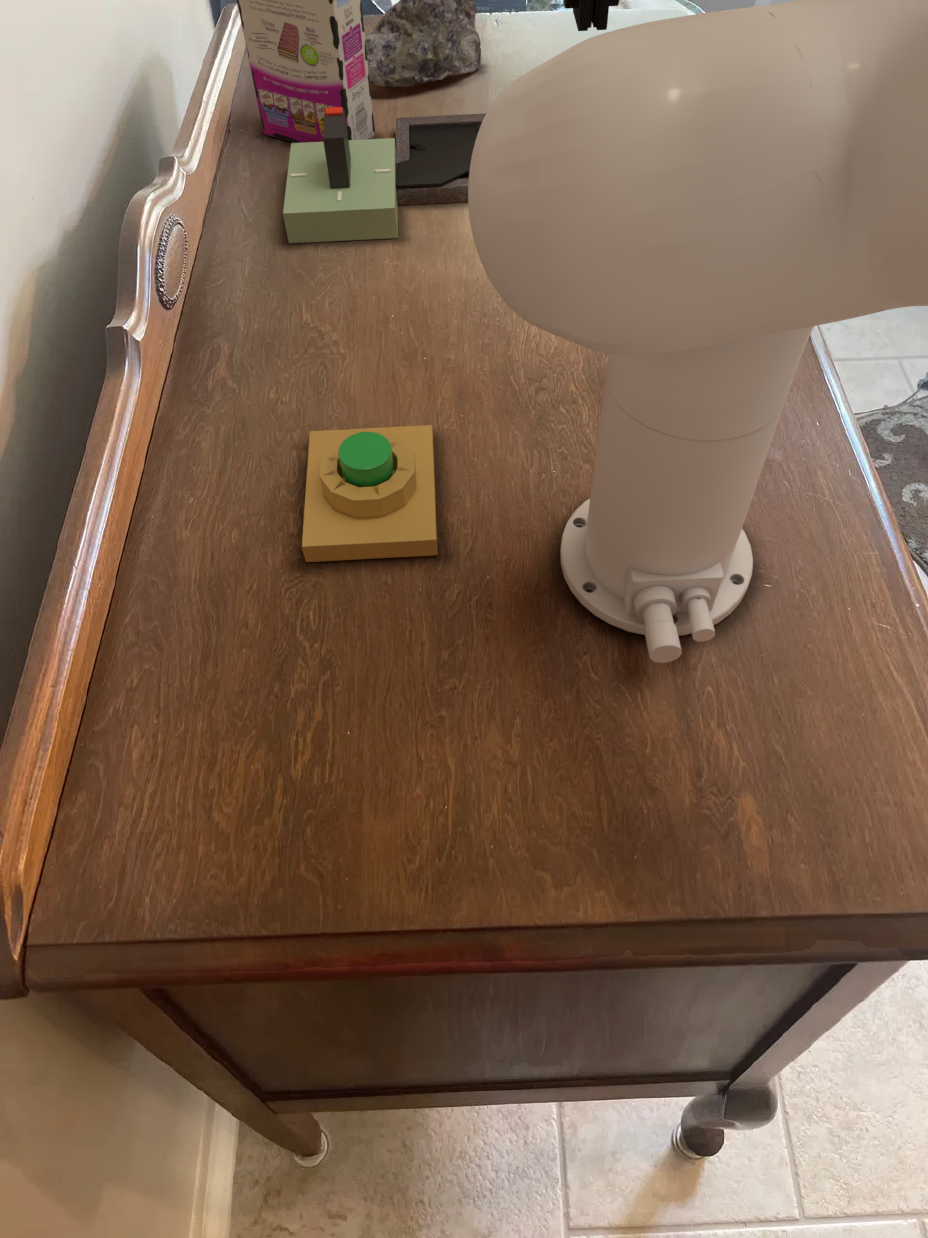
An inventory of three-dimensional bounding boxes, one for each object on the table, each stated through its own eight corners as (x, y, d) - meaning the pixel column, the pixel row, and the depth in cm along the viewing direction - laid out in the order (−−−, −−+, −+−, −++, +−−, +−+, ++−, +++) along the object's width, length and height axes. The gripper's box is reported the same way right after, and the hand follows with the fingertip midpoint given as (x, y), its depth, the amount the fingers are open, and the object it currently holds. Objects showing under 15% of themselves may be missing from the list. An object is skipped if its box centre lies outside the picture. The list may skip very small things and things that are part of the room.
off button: (394, 486, 62) (391, 467, 61) (340, 488, 62) (337, 470, 61) (393, 448, 64) (391, 429, 63) (342, 451, 64) (338, 432, 63)
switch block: (437, 555, 63) (435, 521, 60) (305, 562, 62) (296, 528, 60) (433, 441, 69) (430, 405, 66) (313, 447, 69) (305, 412, 66)
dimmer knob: (350, 187, 84) (343, 133, 80) (330, 188, 84) (322, 135, 80) (350, 158, 86) (344, 105, 82) (331, 159, 86) (324, 106, 82)
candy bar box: (378, 135, 95) (359, -51, 81) (352, 159, 92) (329, -30, 79) (288, 112, 98) (255, -71, 84) (261, 134, 95) (223, -51, 82)
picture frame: (397, 205, 87) (587, 195, 87) (396, 185, 85) (588, 175, 86) (397, 133, 95) (571, 124, 95) (395, 113, 93) (572, 104, 93)
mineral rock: (363, 100, 99) (351, -5, 91) (367, 54, 105) (356, -49, 97) (483, 96, 99) (482, -10, 90) (479, 49, 105) (478, -54, 97)
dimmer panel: (398, 238, 84) (395, 205, 81) (288, 243, 84) (282, 211, 81) (397, 167, 91) (394, 135, 88) (296, 172, 91) (290, 140, 88)
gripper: (449, -454, 35) (462, 57, 51) (834, -472, 36) (733, 43, 51) (442, -479, 40) (456, -2, 55) (786, -495, 40) (706, -14, 55)
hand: (589, 19), depth 53 cm, fingers closed
